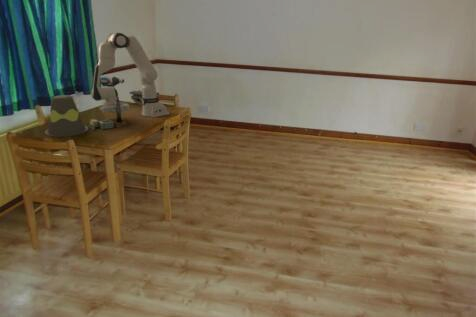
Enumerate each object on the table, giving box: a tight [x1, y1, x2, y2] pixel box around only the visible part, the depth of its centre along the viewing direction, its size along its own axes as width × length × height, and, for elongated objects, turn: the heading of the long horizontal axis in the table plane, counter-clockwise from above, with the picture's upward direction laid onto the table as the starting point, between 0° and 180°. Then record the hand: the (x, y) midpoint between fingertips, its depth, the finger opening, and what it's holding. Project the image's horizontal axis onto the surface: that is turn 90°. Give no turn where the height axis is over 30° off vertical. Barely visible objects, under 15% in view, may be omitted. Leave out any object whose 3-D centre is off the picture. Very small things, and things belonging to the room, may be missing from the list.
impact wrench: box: [99, 76, 125, 88], centre depth 327 cm, size 8×22×25 cm, turn 78°
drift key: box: [89, 118, 100, 128], centre depth 266 cm, size 4×8×4 cm, turn 34°
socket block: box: [88, 119, 115, 131], centre depth 263 cm, size 15×8×4 cm, turn 124°
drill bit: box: [115, 96, 123, 123], centre depth 267 cm, size 3×3×19 cm
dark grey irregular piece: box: [129, 90, 160, 106], centre depth 336 cm, size 25×8×11 cm, turn 79°
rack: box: [112, 119, 128, 128], centre depth 270 cm, size 8×8×3 cm
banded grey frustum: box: [44, 94, 89, 138], centre depth 251 cm, size 28×28×24 cm
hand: (118, 110), depth 266 cm, fingers closed on drill bit, 3 cm apart
